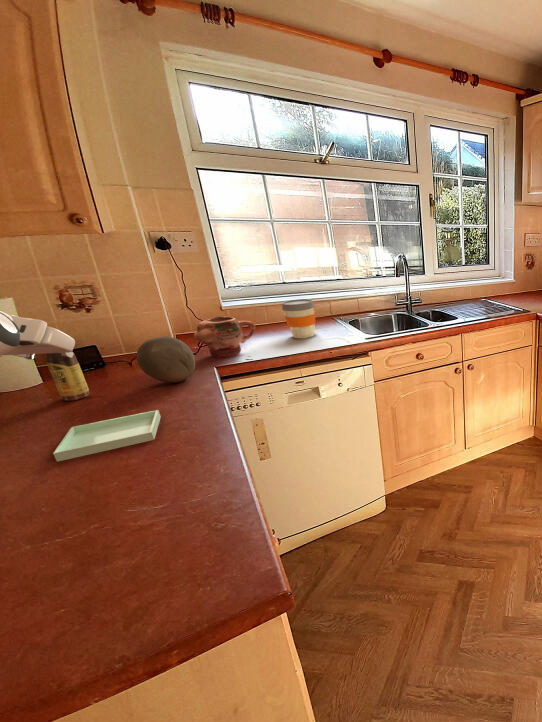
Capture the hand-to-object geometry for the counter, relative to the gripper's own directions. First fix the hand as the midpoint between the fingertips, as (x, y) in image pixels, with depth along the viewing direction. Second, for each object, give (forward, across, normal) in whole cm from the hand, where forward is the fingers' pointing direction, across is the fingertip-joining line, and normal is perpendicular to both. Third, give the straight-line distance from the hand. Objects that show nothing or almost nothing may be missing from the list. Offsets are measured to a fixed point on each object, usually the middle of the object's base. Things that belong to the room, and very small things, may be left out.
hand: (52, 356), depth 120 cm
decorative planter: (+39, +26, +19) cm, 50 cm away
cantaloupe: (+17, +22, -2) cm, 28 cm away
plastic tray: (-10, +30, -29) cm, 43 cm away
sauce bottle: (+11, 0, -9) cm, 14 cm away
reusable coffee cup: (+55, +45, +36) cm, 80 cm away
